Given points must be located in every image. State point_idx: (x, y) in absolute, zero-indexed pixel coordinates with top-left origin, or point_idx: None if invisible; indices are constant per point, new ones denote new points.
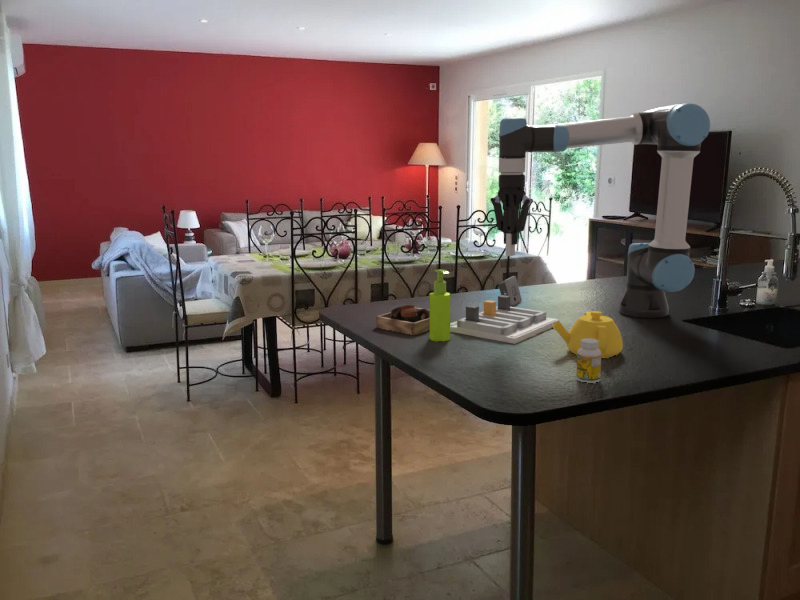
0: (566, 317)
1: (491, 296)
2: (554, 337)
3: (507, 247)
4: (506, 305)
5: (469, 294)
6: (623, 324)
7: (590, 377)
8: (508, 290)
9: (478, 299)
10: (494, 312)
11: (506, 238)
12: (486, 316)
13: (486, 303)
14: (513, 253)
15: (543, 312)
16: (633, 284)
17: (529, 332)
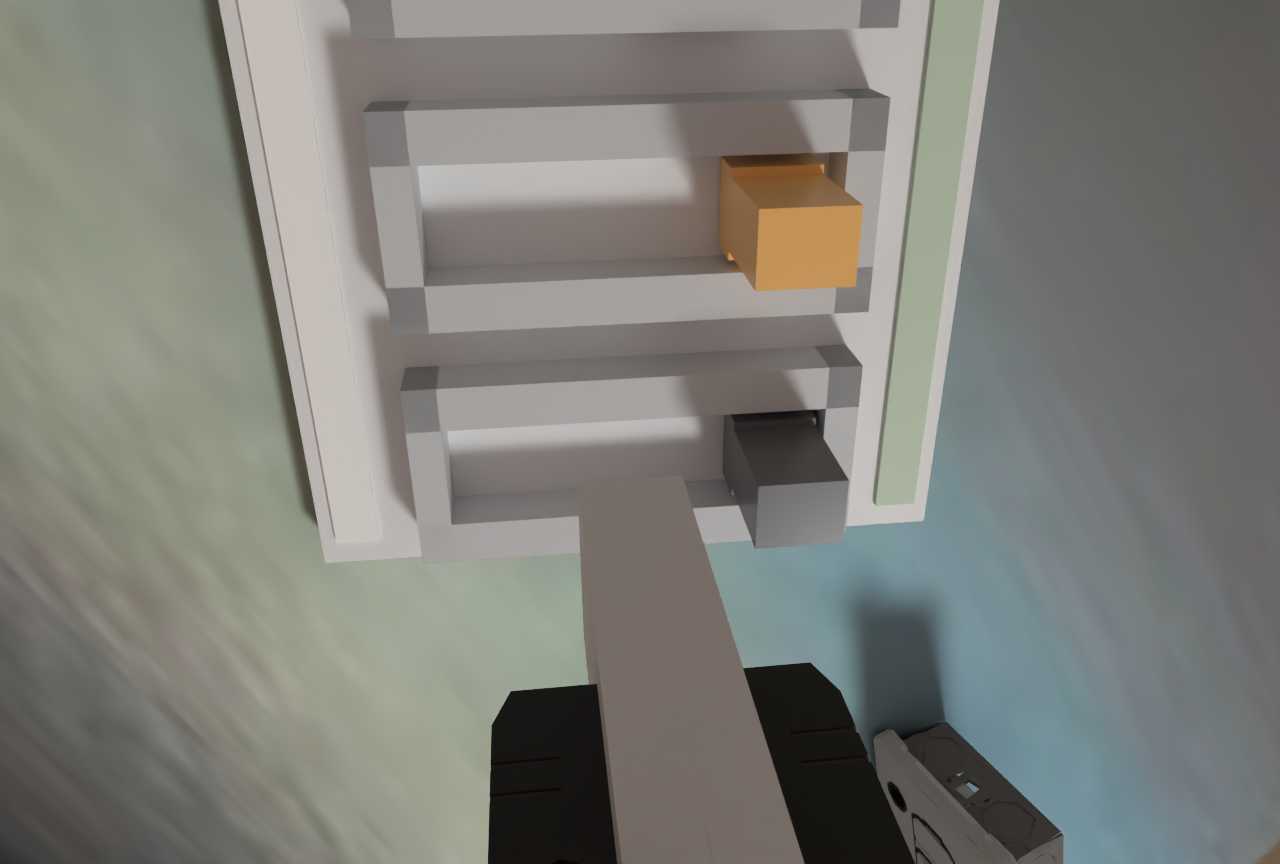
0: (417, 715)
1: (1115, 838)
2: (88, 186)
3: (670, 582)
4: (742, 455)
5: (1268, 799)
6: (13, 787)
7: None
8: (951, 808)
9: (1163, 739)
10: (733, 229)
11: (752, 742)
12: (750, 105)
13: (822, 201)
14: (583, 615)
15: (430, 537)
16: None
17: (228, 45)
